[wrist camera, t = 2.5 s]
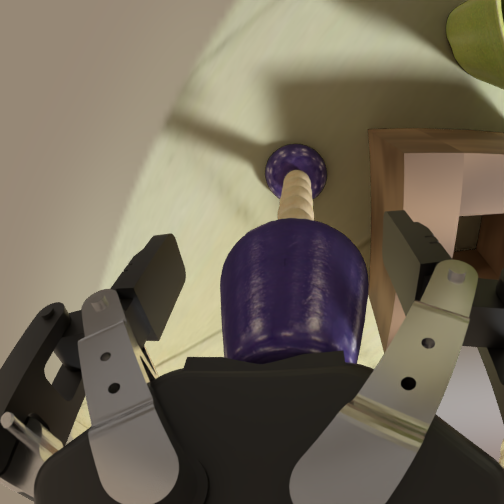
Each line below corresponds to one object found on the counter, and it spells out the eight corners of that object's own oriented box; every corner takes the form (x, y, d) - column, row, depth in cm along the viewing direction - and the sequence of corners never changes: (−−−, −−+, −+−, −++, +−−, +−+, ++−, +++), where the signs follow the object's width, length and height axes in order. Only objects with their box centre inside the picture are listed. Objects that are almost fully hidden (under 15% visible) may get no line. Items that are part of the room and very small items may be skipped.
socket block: (367, 129, 18) (404, 153, 12) (518, 134, 16) (573, 161, 10) (368, 294, 25) (384, 355, 19) (494, 276, 23) (527, 324, 17)
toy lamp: (255, 197, 22) (199, 419, 8) (259, 133, 19) (182, 300, 5) (321, 204, 22) (362, 430, 8) (331, 141, 19) (435, 321, 5)
